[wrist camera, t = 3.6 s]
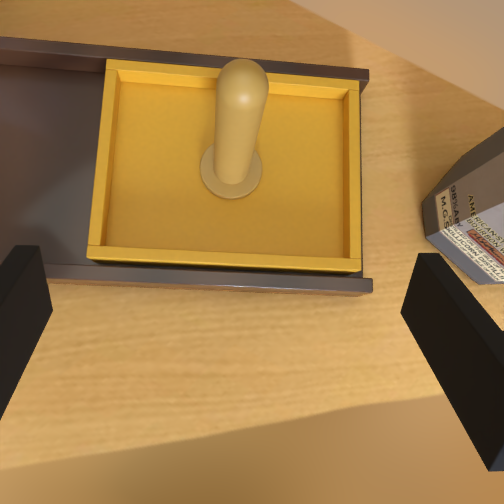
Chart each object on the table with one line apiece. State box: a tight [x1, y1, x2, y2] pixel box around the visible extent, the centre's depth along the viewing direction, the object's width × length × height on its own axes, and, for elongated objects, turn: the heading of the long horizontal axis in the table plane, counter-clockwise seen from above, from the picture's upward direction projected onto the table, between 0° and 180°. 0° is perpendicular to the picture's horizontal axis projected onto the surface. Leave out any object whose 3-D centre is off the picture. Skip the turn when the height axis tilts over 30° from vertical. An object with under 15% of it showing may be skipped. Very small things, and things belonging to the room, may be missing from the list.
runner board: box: [0, 36, 373, 297], centre depth 32 cm, size 30×17×3 cm, turn 88°
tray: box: [86, 59, 361, 275], centre depth 26 cm, size 18×14×13 cm
